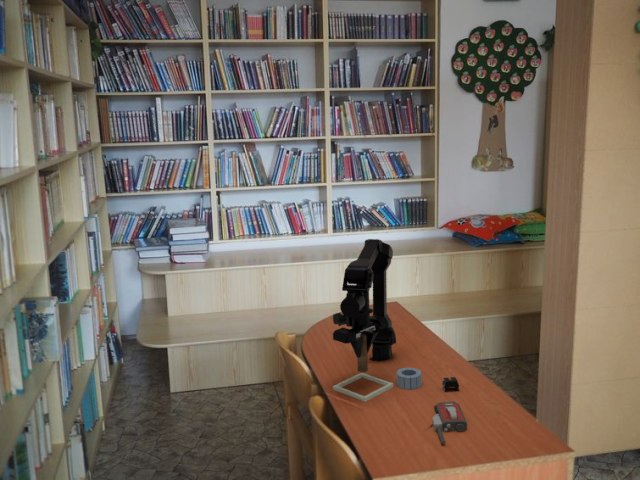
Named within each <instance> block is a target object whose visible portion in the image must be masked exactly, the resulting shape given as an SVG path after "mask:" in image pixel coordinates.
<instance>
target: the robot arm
mask: <svg viewBox="0 0 640 480" xmlns="http://www.w3.org/2000/svg"><path fill="white" fill-rule="evenodd" d="M393 256H394V250H393V247H392V246H391V245H390V244H388V243H385V242H383V240H381V239H379V238H378V239H377V238H375V239H374V238H368V239H365V240H364V245H363V248H362V250H361V251H360V253H359V255H358V256H357V259H356V260H352V261H351V262H349V264H348V265H347V266H346V268H345V269H344V273H343V274H344V276H343V281H342V288H341V290H342V292H346V295H345V297H344V298H343V300H341V302H340V305H339V309H340V312H336V313H334V314H333V315H332V321H333V324H334V325H336V326H338V327H340V328H337V329H335V330H334V331H333V332H332V340H334V341H336V342H339V343H342V344H350V345H351V347H352V350H353V352H354V355H355V356H356V358H357V357H358V358H360V355H361V351H362V345H363V339H364V338H361V337H360V334H365V335H366V338H367V355H368V354H369V352H370V349H371V347H372V349H371V354H372V355H371V356H370V357H369V360H370V361H373V362H383V361H387V360H390V359H392V355H393V352H392V349H393V347H392V346H393V345H395V344H397V336H396V335H397V334H396V332H395V329H394V327H392V326H393V324H392V320H391V318H390V316H389V315H388V314H387V313H388V312H387V309H388V308H387V305H388V304H387V303H388V302H387V270H388V269H389V267H390V266H391V264H392V260H393ZM370 289H372V308H371V306H370V304H371V303H370ZM371 314H372V315H371ZM343 325H346V327H348V328H346V327H341V326H343Z"/></svg>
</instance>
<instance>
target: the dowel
mask: <svg viewBox="0 0 640 480" xmlns="http://www.w3.org/2000/svg"><path fill="white" fill-rule="evenodd" d="M360 337H361V338H364V339H363V345H362V351H361V355H360V358H358V357H356V359H357V372H358V373H366V372H368V371H369V369H368V367H369V366H368V354H367V338H366V335H365V334H361V333H360Z"/></svg>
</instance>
